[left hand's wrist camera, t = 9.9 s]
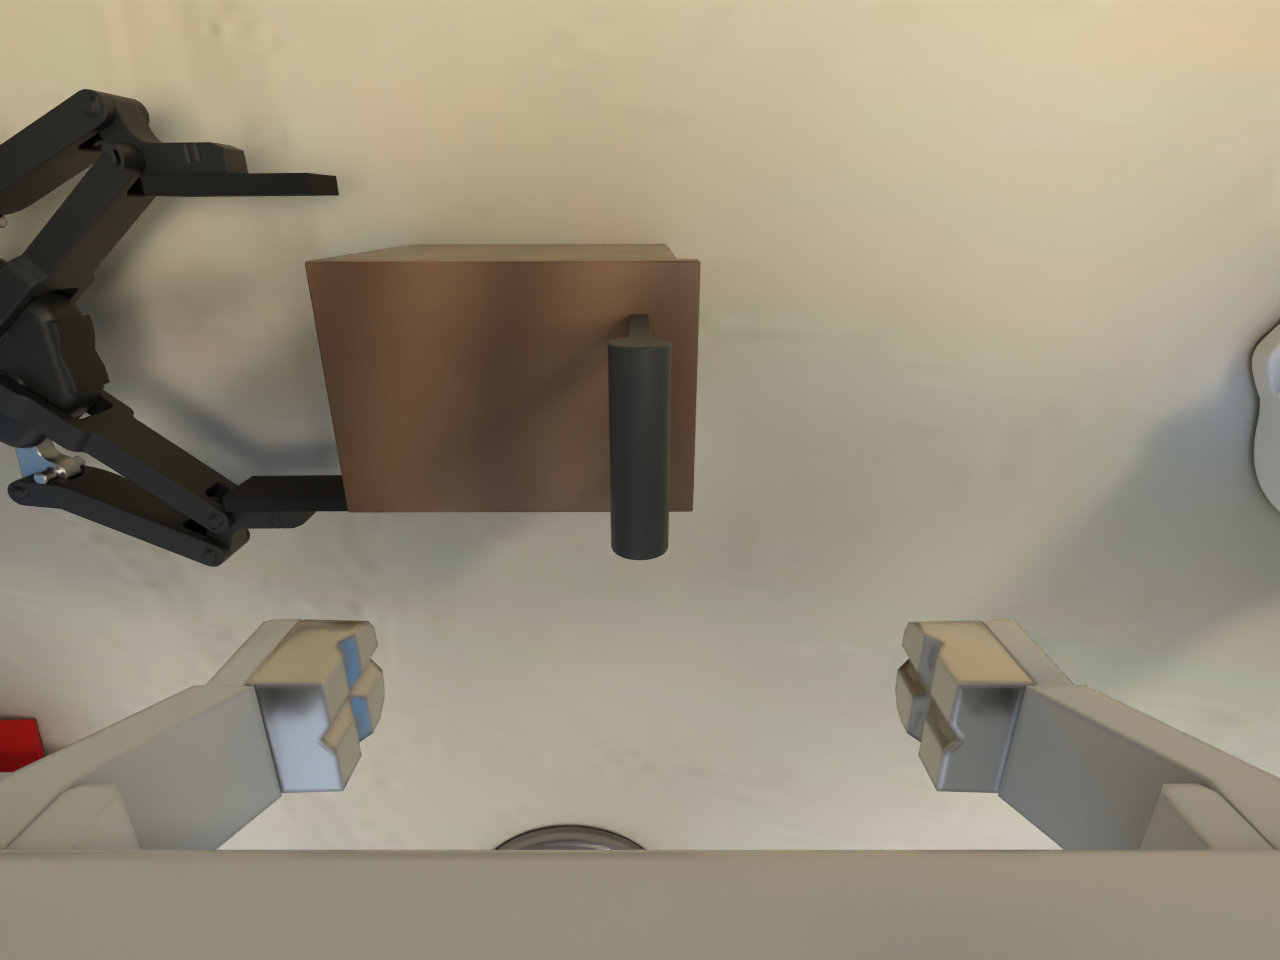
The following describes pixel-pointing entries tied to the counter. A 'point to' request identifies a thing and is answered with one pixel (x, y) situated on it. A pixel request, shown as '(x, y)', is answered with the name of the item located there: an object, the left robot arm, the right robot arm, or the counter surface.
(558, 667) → the counter surface
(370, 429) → the lid
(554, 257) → the chest
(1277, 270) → the counter surface
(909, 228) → the counter surface
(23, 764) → the toy
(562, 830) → the right robot arm
